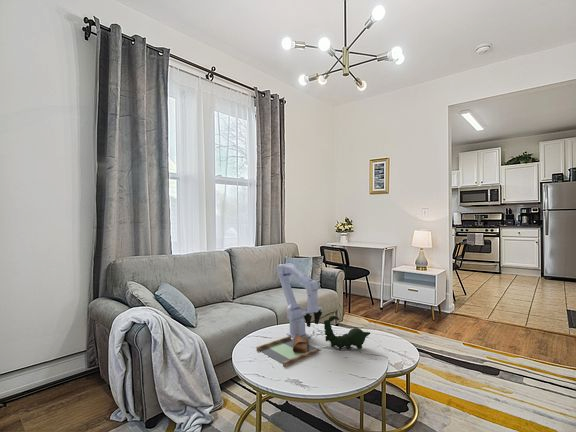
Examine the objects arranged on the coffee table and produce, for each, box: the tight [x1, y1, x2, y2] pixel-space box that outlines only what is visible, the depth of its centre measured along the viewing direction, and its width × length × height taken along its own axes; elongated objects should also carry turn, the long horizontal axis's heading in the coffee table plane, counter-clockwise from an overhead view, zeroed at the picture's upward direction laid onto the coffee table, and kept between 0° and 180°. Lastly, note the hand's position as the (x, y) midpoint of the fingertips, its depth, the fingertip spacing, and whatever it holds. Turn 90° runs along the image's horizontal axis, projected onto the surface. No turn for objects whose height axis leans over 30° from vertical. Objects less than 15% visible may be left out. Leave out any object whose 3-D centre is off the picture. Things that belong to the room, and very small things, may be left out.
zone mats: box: [258, 338, 322, 365], centre depth 176 cm, size 26×22×1 cm
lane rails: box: [256, 335, 320, 367], centre depth 175 cm, size 24×24×2 cm
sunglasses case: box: [293, 334, 310, 353], centre depth 181 cm, size 18×7×7 cm
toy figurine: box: [323, 315, 371, 350], centre depth 179 cm, size 9×19×25 cm
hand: (312, 325), depth 187 cm, fingers open, 6 cm apart
